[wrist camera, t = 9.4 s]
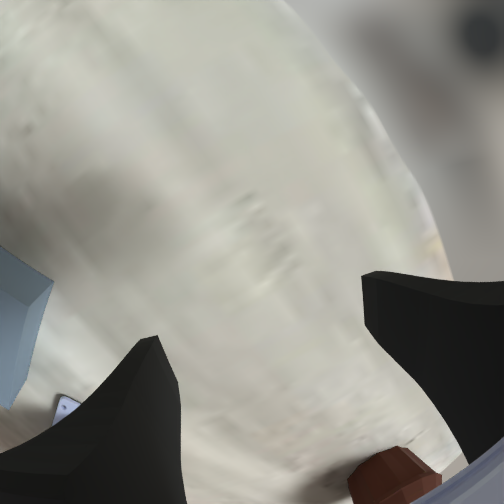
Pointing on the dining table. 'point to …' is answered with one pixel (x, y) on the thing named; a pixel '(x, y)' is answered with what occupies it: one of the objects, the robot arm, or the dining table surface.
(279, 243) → the dining table surface
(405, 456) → the muffin
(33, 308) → the socket
